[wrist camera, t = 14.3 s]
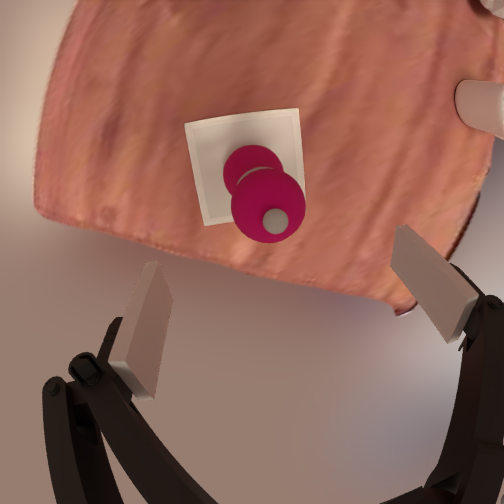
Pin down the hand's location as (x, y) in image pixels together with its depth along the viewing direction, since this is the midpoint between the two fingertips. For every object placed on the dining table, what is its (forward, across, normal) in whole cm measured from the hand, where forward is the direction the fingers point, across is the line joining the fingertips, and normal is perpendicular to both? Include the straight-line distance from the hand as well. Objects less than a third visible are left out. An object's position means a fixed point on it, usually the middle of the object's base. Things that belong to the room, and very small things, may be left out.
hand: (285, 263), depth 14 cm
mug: (+26, +43, +10) cm, 51 cm away
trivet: (+26, 0, 0) cm, 26 cm away
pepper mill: (+25, 0, 0) cm, 25 cm away
